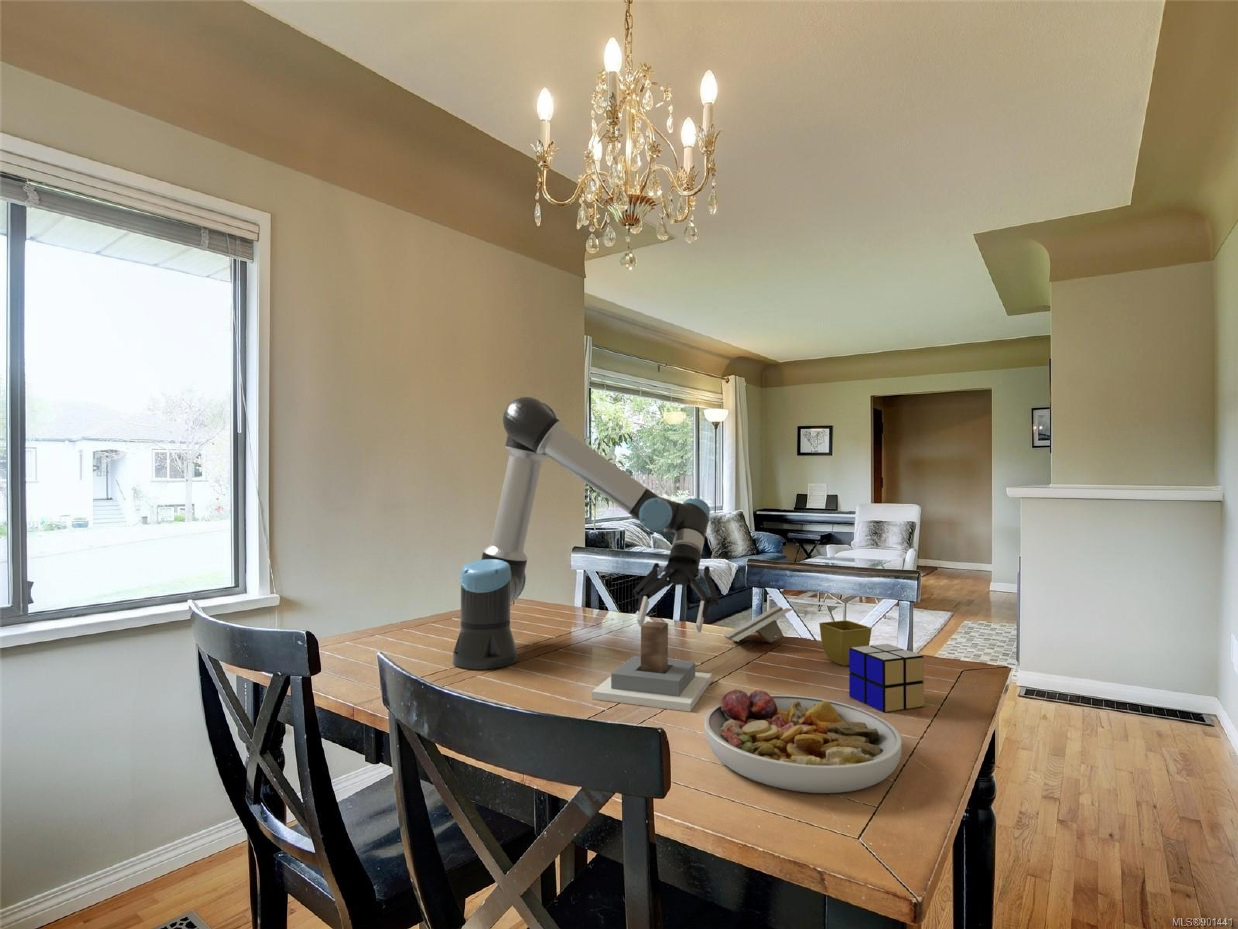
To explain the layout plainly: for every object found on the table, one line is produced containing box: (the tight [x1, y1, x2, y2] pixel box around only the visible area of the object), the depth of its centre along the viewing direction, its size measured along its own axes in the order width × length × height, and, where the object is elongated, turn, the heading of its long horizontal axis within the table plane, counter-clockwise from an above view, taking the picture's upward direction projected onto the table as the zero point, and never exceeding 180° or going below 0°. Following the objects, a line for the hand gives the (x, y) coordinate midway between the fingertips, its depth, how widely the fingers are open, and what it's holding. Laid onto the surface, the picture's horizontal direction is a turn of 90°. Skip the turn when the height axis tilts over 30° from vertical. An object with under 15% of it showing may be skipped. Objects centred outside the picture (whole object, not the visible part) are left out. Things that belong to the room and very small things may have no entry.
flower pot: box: [819, 620, 872, 667], centre depth 158 cm, size 9×9×9 cm
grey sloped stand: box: [724, 605, 794, 644], centre depth 176 cm, size 19×10×17 cm
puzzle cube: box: [848, 643, 925, 714], centre depth 130 cm, size 10×10×10 cm
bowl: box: [704, 689, 903, 794], centre depth 105 cm, size 30×30×8 cm
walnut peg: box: [640, 620, 669, 674], centre depth 137 cm, size 4×4×12 cm
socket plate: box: [591, 655, 713, 713], centre depth 137 cm, size 20×20×4 cm
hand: (668, 626), depth 148 cm, fingers open, 13 cm apart
